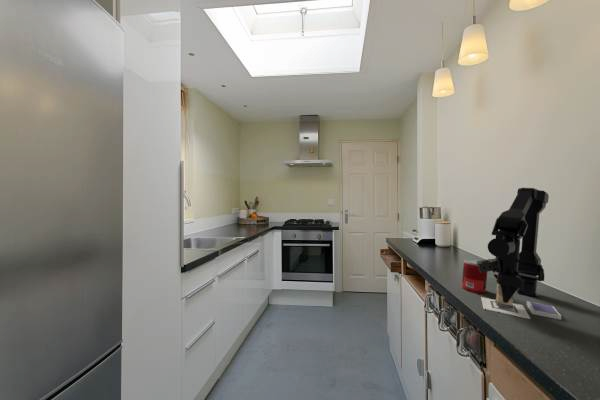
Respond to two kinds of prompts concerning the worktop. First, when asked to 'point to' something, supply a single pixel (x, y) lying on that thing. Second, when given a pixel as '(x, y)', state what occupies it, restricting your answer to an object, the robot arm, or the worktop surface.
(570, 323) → the worktop surface
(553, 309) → the ink pad
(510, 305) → the stamp
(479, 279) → the canned food
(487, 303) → the print card
